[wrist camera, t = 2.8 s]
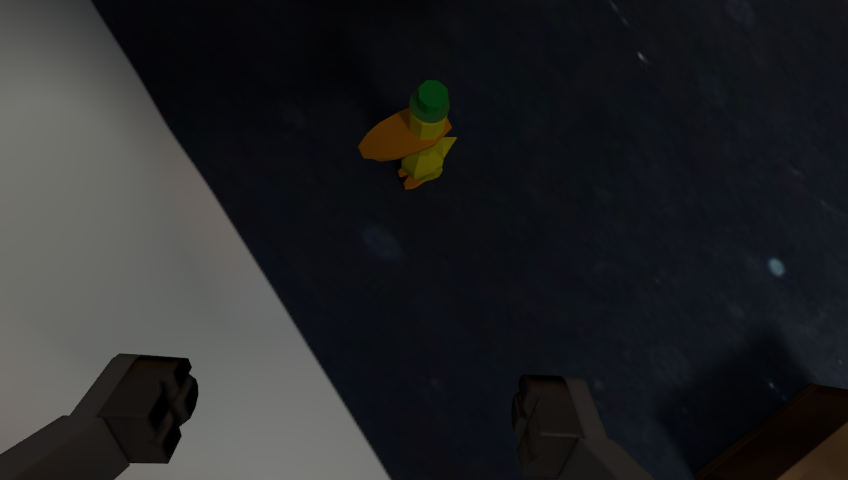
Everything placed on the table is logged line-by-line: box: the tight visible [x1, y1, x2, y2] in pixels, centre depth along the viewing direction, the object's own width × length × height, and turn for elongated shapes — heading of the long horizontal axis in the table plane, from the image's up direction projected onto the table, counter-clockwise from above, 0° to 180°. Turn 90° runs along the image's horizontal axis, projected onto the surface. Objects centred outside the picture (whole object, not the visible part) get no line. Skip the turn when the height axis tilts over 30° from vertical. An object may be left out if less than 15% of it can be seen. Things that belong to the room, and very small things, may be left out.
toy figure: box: [358, 80, 457, 189], centre depth 27 cm, size 7×4×12 cm, turn 115°
